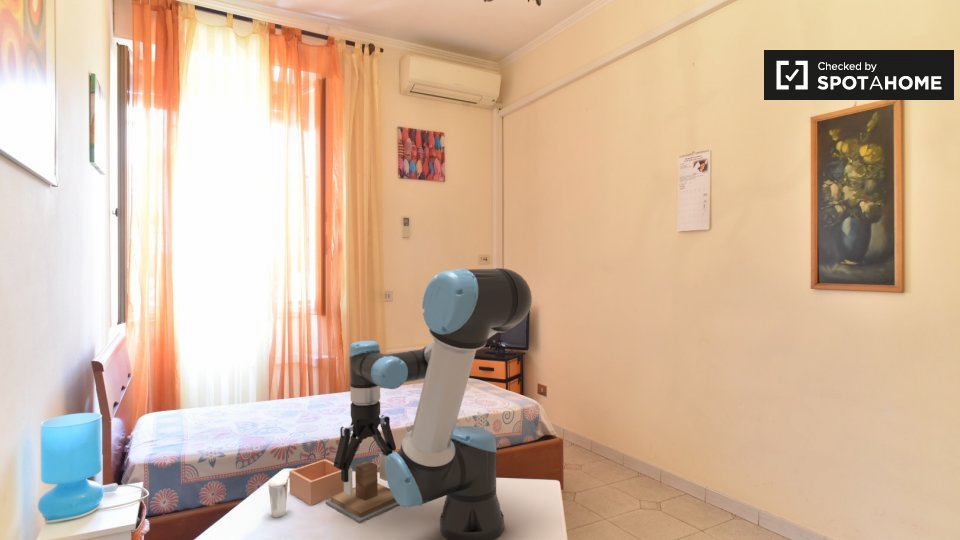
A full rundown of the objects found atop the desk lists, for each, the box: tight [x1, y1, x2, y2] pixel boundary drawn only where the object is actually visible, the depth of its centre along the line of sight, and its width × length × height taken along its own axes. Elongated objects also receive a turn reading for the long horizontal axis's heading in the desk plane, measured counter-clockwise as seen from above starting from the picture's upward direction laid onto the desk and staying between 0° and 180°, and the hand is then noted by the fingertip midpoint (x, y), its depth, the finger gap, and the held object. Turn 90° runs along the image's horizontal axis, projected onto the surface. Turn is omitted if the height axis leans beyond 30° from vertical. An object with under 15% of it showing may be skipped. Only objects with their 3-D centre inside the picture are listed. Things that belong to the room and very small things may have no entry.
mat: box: [324, 499, 401, 524], centre depth 136 cm, size 15×15×1 cm
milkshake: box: [267, 474, 290, 518], centre depth 130 cm, size 4×5×10 cm
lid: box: [330, 460, 397, 518], centre depth 136 cm, size 13×13×9 cm
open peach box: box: [288, 458, 344, 506], centre depth 142 cm, size 11×11×6 cm
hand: (366, 485), depth 136 cm, fingers open, 10 cm apart
